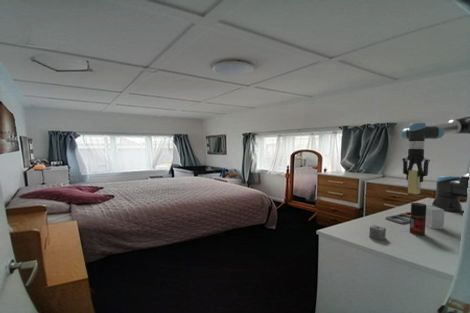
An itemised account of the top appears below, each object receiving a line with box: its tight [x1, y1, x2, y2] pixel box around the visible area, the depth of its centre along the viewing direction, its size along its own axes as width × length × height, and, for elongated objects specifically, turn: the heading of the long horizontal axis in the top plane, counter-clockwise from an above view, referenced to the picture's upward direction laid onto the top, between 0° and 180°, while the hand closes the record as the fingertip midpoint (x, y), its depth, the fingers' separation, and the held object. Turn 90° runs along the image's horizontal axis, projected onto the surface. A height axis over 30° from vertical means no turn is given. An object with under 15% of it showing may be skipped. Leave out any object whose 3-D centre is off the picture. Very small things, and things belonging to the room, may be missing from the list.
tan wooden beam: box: [407, 169, 421, 195], centre depth 135 cm, size 4×4×14 cm
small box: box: [425, 205, 445, 230], centre depth 121 cm, size 8×6×10 cm
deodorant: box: [409, 202, 428, 237], centre depth 111 cm, size 6×6×15 cm
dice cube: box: [369, 224, 387, 241], centre depth 106 cm, size 5×5×5 cm
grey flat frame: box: [385, 211, 411, 225], centre depth 133 cm, size 24×9×2 cm, turn 115°
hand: (414, 186), depth 135 cm, fingers closed on tan wooden beam, 4 cm apart
